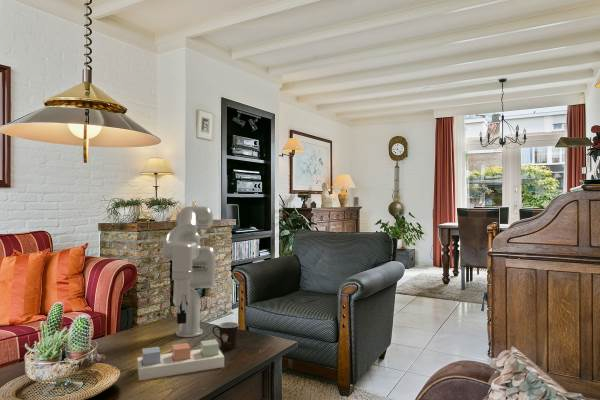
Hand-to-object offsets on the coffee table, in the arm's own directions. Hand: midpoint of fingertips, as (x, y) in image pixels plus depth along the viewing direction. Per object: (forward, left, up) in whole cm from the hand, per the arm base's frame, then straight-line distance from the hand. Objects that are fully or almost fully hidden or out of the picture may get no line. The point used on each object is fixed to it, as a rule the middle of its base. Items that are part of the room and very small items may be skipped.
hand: (181, 322), depth 158 cm
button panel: (0, 0, -17) cm, 17 cm away
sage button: (0, +11, -14) cm, 18 cm away
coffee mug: (-16, +22, -18) cm, 33 cm away
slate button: (0, -11, -14) cm, 18 cm away
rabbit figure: (-21, -34, -18) cm, 44 cm away
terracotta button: (0, 0, -14) cm, 14 cm away
